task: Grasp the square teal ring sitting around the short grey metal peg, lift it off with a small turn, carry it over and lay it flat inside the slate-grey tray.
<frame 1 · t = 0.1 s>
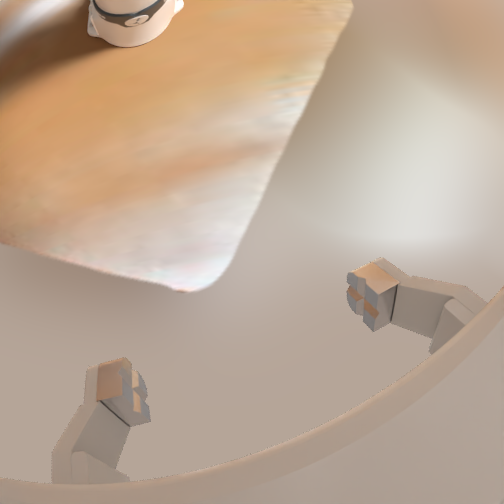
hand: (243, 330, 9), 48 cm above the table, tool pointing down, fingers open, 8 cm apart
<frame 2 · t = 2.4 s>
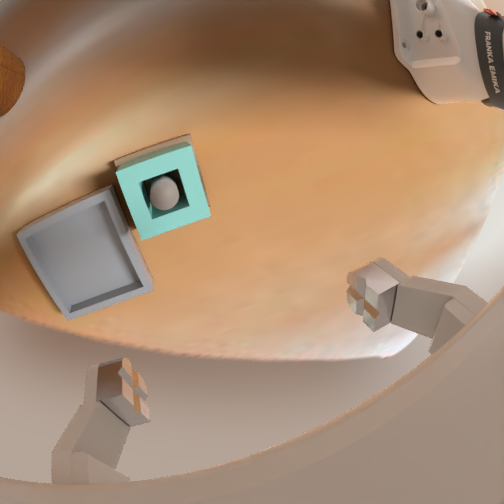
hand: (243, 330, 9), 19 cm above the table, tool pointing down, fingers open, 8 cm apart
tray: (86, 253, 24), on the table
disposable coffee cup: (1, 86, 14), on the table
stake: (162, 181, 24), on the table
ring: (163, 183, 23), point 1 cm above the table, touching stake
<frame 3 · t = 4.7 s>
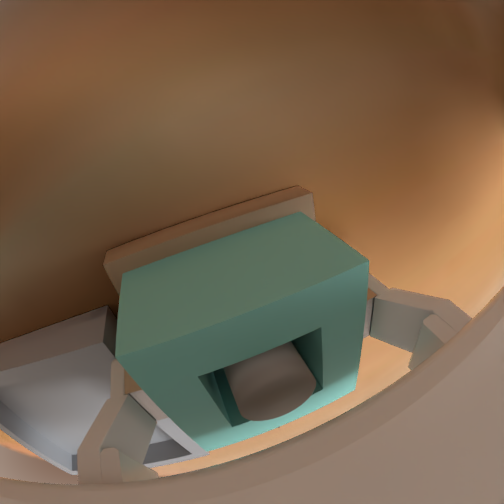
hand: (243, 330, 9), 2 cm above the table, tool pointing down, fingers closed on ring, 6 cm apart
tray: (78, 407, 11), on the table
stake: (229, 296, 11), on the table
ring: (235, 312, 10), point 1 cm above the table, touching gripper, stake
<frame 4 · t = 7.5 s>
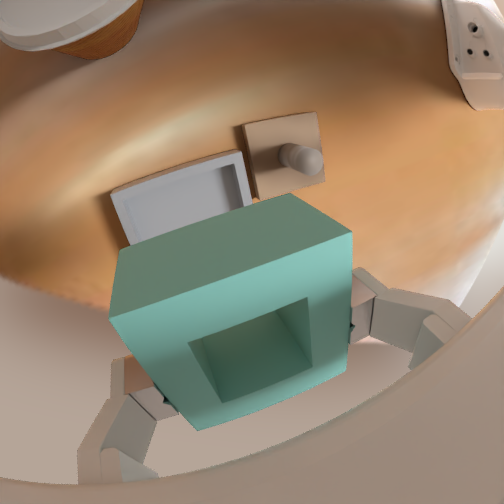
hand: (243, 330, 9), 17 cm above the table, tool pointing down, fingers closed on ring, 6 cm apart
tray: (190, 224, 25), on the table
disposable coffee cup: (102, 27, 14), on the table
stake: (284, 153, 25), on the table
ring: (227, 291, 10), point 15 cm above the table, touching gripper
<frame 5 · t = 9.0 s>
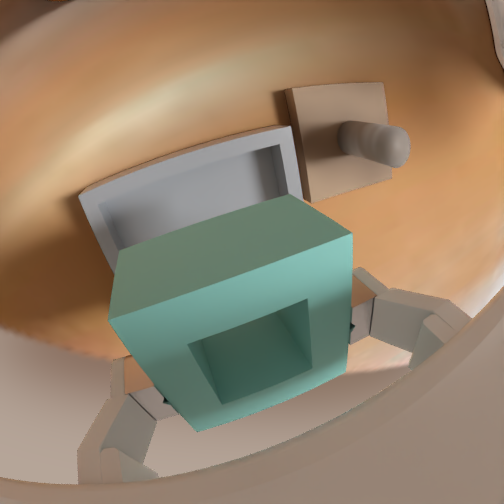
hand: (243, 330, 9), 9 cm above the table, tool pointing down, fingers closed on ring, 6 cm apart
tray: (207, 238, 17), on the table
stake: (342, 135, 16), on the table
ring: (227, 292, 10), point 7 cm above the table, touching gripper
when the fingers open (4 cm above the table, at t = 10.3 s): ring drops 1 cm, resting on tray.
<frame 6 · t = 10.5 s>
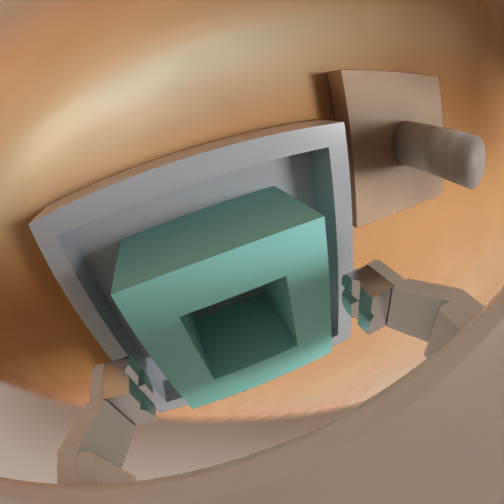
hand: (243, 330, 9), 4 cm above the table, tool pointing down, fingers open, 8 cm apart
tray: (218, 276, 12), on the table
stake: (392, 139, 12), on the table
ring: (219, 277, 11), point 1 cm above the table, touching tray
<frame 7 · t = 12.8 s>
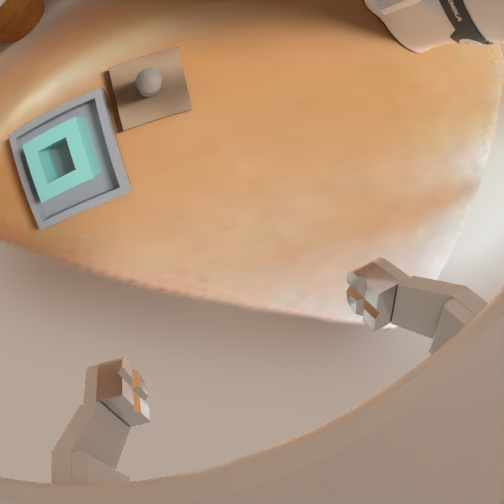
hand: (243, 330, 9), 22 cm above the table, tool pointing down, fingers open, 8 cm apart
tray: (69, 158, 23), on the table
disposable coffee cup: (22, 19, 12), on the table
stake: (149, 88, 23), on the table
ring: (67, 156, 22), point 1 cm above the table, touching tray
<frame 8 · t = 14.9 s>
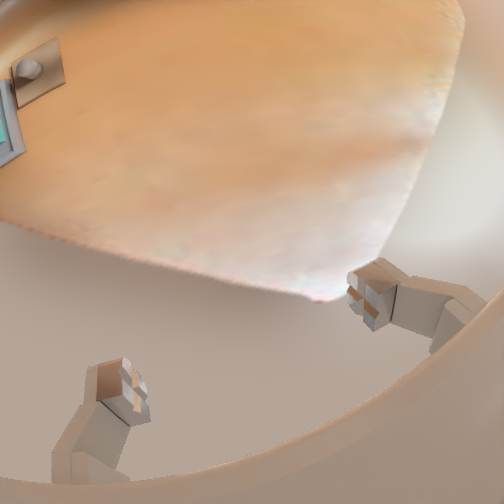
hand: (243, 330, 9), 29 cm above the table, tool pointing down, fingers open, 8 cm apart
stake: (38, 72, 21), on the table
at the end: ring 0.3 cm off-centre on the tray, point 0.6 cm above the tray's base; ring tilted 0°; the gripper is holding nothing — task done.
